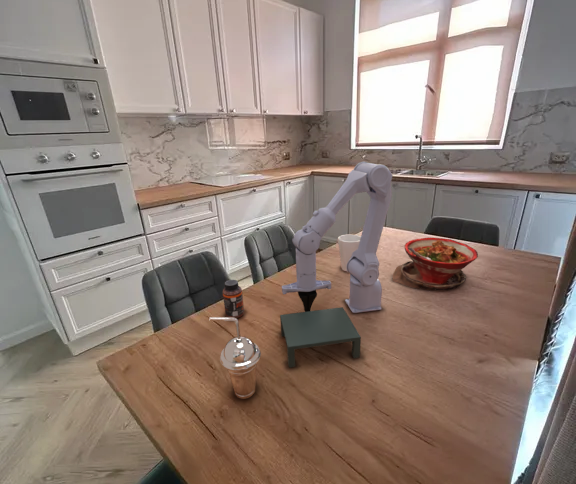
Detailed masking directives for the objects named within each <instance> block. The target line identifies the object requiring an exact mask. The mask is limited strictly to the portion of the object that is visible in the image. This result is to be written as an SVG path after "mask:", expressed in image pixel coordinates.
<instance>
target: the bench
mask: <svg viewBox="0 0 576 484" xmlns="http://www.w3.org/2000/svg"><path fill="white" fill-rule="evenodd" d="M279 321H280V334H281V337H284V339H285V344H286V353H287V365H288V368H289V369H290V368H295V367H296V352H295V351H296V350H301V349H306V348H307V349H308V348H314V347H323V346H329V345H337V344H343V343H351V356H352V358H353V359H358V358H360V357H361V344H362V343H361V342H362V336H361V334H360V333H359V331H358V330H357V328H356V326H355V325H354V323H353V322H352V320H351V318H350V317H349V315H348V314H347V312H346V310H345V308H344V307H343V306H341V307H332V308H324V309H316V310H310V311H307V312H305V311H300V312H299V311H298V312H292V313H284V314H279Z"/></svg>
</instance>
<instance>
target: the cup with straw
mask: <svg viewBox="0 0 576 484" xmlns="http://www.w3.org/2000/svg"><path fill="white" fill-rule="evenodd" d="M208 319H209V320H208V321H209V322H234V324H235V333H236V336H234V337H233V338H230V339H229V340H228V341H227V342H226V344H225V346H224V347H223V349H222V350H221V351H220V357H219V362H220V364H221V365H222V366H223V367H224V368H226V371H227V373H228V375H229V378H230V382H231V385H232V388H233V392H234V396H235V397H237V398H238V399H241V400H245V399H249V398H251V397H252V396H254V394H255V392H256V377H257V364H258V362H259V360H260V358H261V356H262V352H261V350H260V346H258V344H257V343H255V342H254V341H253V340H252V339H251V338H249V337H247V336H245V335H244V336H243V335H241V330H240V322H239V320H238V318H234V317H227V316H226V317H225V316H222V317H221V316H219V317H217V316H214V317H213V316H210V317H209V318H208Z"/></svg>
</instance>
